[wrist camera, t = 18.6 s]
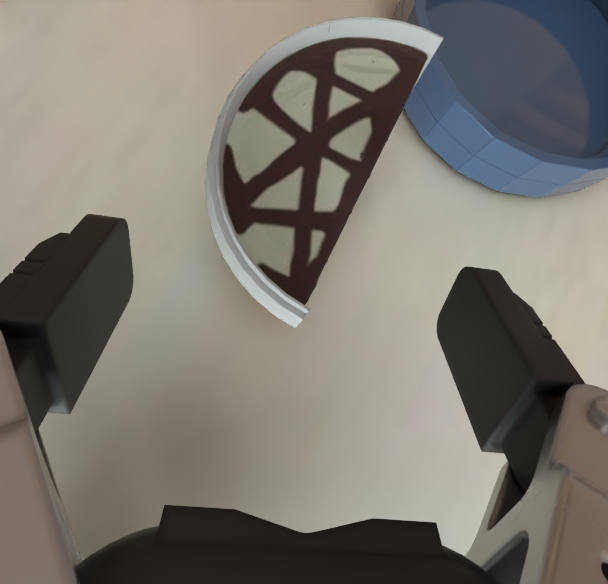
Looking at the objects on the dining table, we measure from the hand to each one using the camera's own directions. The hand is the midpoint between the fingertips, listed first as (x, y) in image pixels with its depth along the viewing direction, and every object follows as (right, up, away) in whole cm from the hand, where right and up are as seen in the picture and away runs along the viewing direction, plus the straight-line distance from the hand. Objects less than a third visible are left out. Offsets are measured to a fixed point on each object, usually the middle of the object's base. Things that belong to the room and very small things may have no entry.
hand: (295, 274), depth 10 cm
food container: (-1, +4, +14) cm, 15 cm away
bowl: (+14, +14, +17) cm, 26 cm away
